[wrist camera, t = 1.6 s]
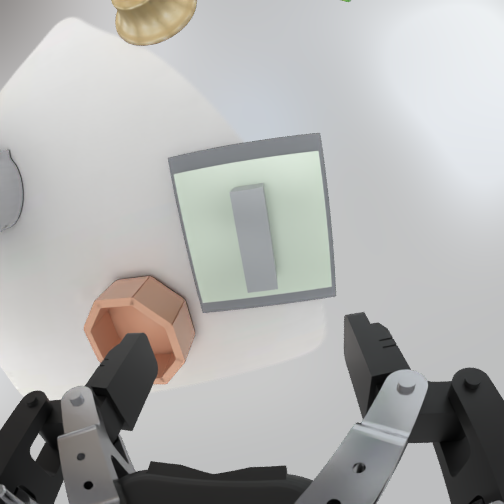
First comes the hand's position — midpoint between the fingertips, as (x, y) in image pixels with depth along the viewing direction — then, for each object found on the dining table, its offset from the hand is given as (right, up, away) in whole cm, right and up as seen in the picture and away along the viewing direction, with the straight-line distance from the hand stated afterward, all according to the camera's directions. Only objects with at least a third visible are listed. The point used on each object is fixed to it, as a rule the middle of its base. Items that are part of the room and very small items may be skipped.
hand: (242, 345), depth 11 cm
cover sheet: (+1, +6, +15) cm, 16 cm away
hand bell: (-9, +26, +9) cm, 29 cm away
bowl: (-11, -4, +19) cm, 22 cm away
